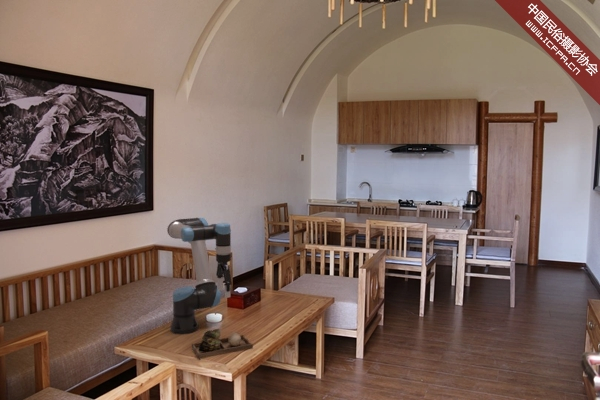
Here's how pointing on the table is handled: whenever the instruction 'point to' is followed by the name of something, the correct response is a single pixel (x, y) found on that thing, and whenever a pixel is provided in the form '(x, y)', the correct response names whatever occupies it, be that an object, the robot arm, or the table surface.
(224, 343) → the holder
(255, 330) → the table surface
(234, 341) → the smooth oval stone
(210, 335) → the seashell
